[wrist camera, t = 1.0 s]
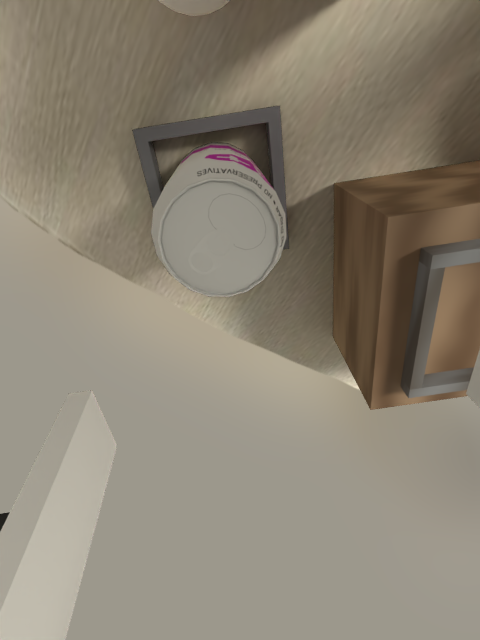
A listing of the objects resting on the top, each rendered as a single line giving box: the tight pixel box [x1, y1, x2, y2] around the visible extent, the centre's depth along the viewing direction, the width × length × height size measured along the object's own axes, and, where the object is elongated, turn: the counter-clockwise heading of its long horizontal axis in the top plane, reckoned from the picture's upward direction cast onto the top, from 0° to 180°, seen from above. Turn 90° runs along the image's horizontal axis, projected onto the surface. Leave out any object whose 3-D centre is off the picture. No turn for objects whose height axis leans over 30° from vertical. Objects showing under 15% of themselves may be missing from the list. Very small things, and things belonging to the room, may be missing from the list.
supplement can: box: [151, 142, 287, 297], centre depth 26 cm, size 8×8×15 cm
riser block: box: [333, 160, 480, 410], centre depth 31 cm, size 18×18×14 cm
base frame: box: [132, 106, 289, 249], centre depth 31 cm, size 12×12×2 cm
